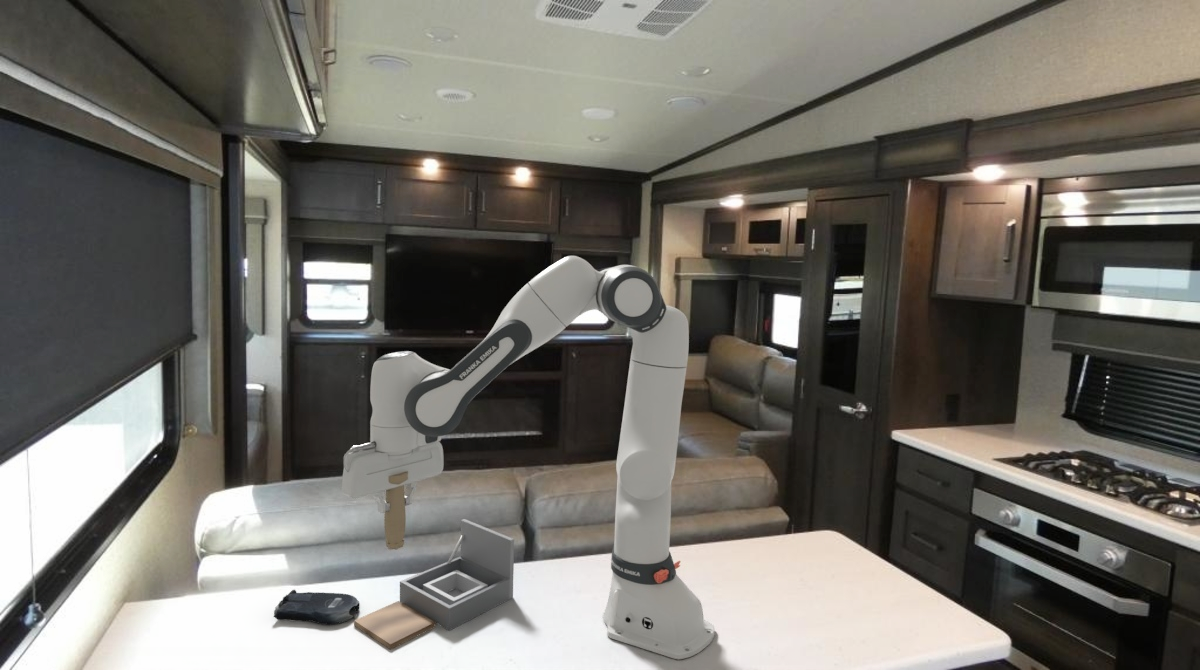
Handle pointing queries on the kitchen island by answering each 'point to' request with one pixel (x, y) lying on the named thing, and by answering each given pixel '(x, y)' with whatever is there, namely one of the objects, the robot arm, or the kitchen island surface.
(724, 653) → the kitchen island surface
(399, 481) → the handle
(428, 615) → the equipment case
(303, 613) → the electronic device
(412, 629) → the walnut pad
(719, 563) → the kitchen island surface
